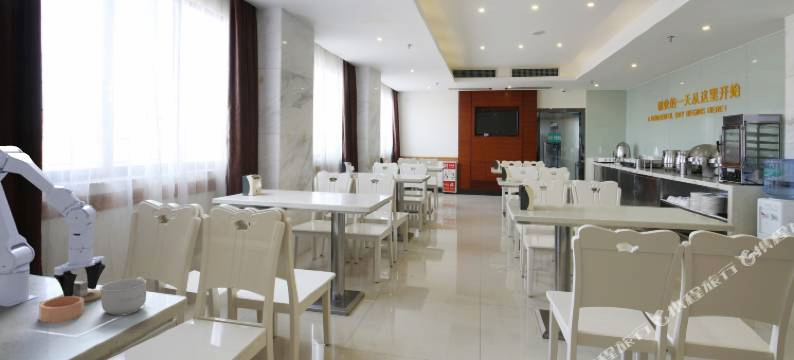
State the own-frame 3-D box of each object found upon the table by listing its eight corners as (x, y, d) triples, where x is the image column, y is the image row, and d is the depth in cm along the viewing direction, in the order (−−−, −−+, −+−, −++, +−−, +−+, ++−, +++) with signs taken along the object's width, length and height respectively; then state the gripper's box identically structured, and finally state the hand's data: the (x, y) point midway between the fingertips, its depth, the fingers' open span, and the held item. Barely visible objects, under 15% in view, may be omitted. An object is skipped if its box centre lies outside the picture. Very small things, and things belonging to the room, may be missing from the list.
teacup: (123, 321, 110) (124, 291, 109) (89, 316, 112) (89, 286, 111) (163, 303, 123) (163, 277, 123) (131, 299, 125) (132, 273, 125)
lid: (46, 301, 119) (46, 286, 118) (81, 289, 130) (81, 275, 129) (79, 306, 117) (79, 290, 117) (112, 293, 128) (112, 278, 128)
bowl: (30, 321, 107) (30, 305, 106) (63, 308, 115) (63, 294, 115) (60, 325, 105) (60, 309, 105) (91, 312, 114) (91, 298, 114)
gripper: (69, 253, 115) (69, 302, 115) (113, 243, 129) (112, 286, 130) (47, 251, 116) (47, 299, 116) (93, 241, 130) (93, 284, 131)
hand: (80, 292), depth 123 cm, fingers open, 7 cm apart
